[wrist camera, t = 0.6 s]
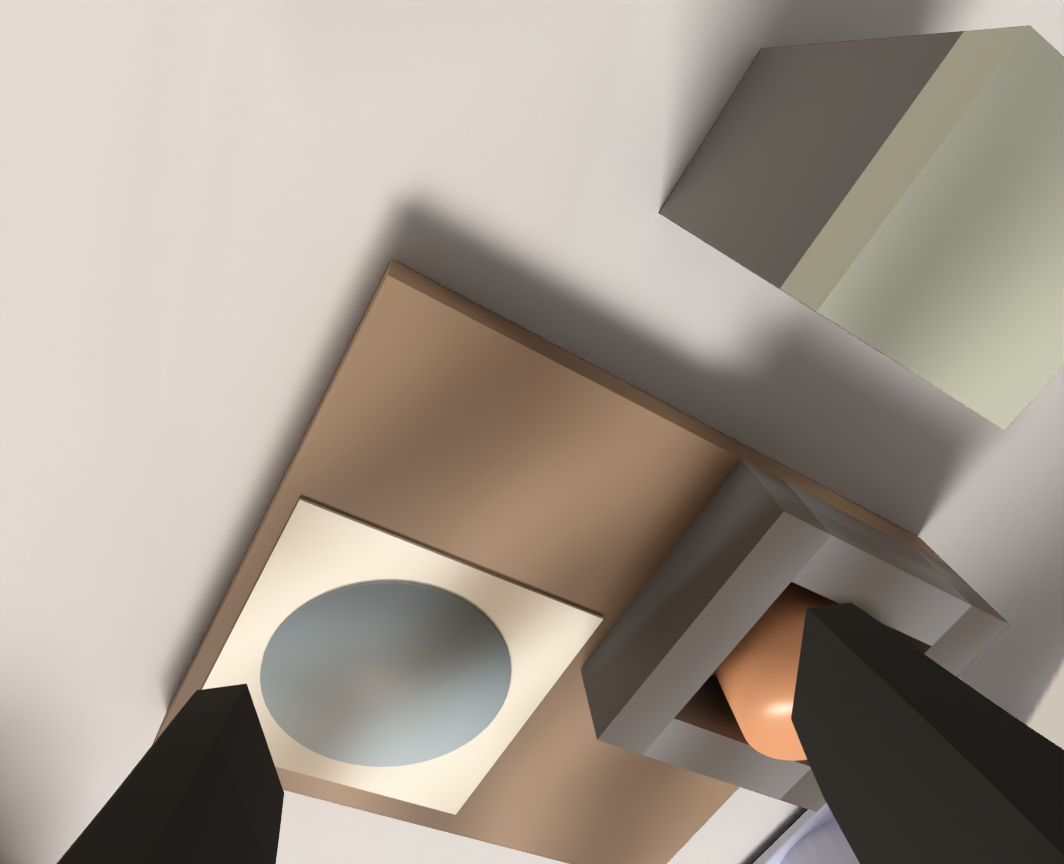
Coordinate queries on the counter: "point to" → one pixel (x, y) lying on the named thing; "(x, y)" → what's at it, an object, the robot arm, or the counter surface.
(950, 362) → the grey rectangular block
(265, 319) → the counter surface
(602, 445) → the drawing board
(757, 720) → the button
